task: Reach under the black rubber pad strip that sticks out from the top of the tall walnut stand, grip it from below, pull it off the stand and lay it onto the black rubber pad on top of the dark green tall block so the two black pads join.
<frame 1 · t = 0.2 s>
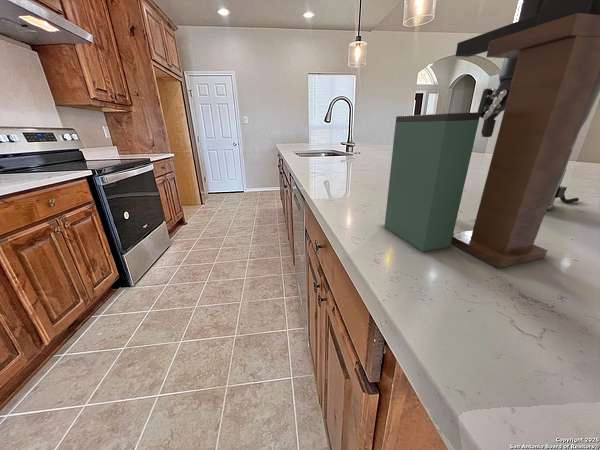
hand: (504, 137, 54), 17 cm above the counter, tool pointing down, fingers open, 8 cm apart
shelf stand: (486, 246, 44), on the counter
pad strip: (514, 41, 36), point 32 cm above the counter, touching shelf stand
dark green tall block: (414, 235, 49), on the counter
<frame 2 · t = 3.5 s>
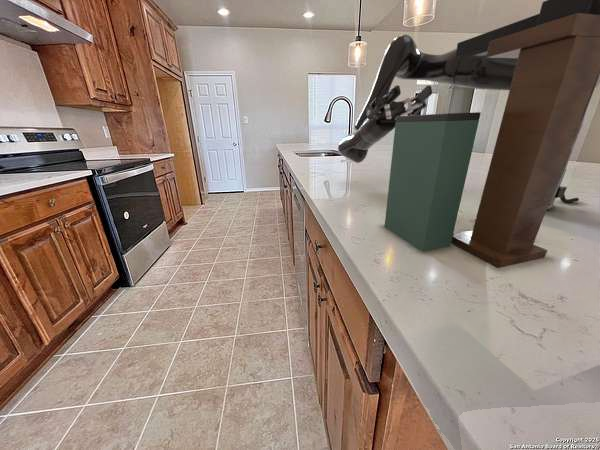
hand: (414, 89, 56), 28 cm above the counter, tool pointing upward, fingers open, 8 cm apart
nothing on the counter moved.
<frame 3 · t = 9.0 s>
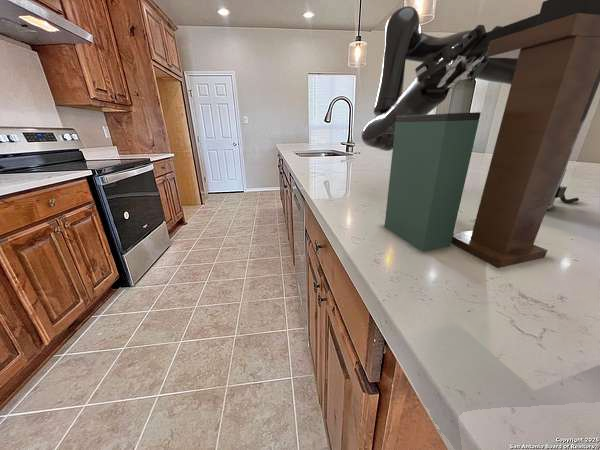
hand: (492, 30, 39), 34 cm above the counter, tool pointing upward, fingers closed on pad strip, 3 cm apart
pad strip: (514, 41, 36), point 32 cm above the counter, touching gripper, shelf stand
everything else where it was.
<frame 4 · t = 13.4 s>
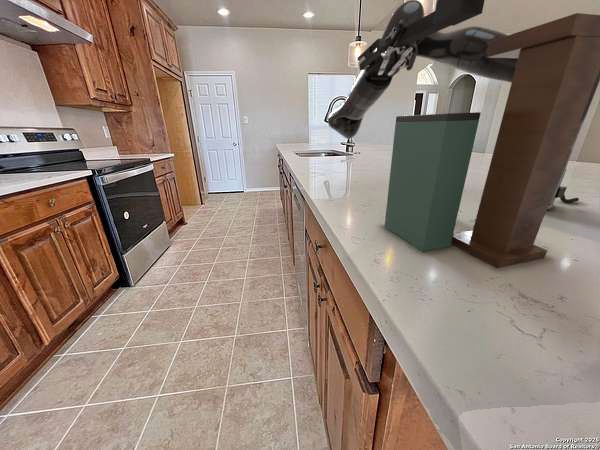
hand: (412, 24, 45), 38 cm above the counter, tool pointing upward, fingers closed on pad strip, 3 cm apart
pad strip: (425, 33, 43), point 36 cm above the counter, touching gripper
everything else where it was.
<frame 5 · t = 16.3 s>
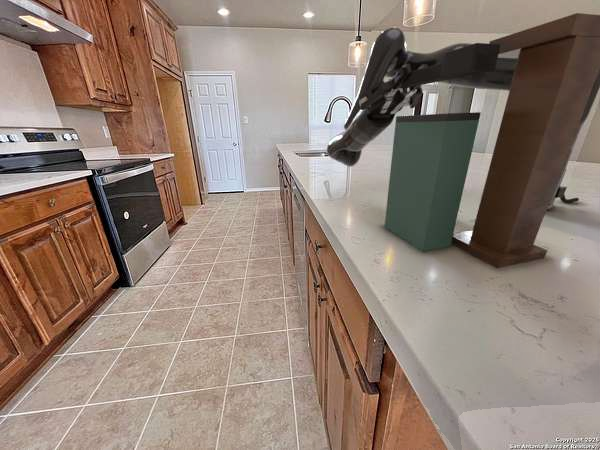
hand: (417, 69, 43), 30 cm above the counter, tool pointing upward, fingers closed on pad strip, 3 cm apart
pad strip: (431, 81, 40), point 28 cm above the counter, touching gripper
everything else where it was.
when the fingers open (25 cm above the counter, at t = 18.3 s): pad strip stays where it is, resting on dark green tall block.
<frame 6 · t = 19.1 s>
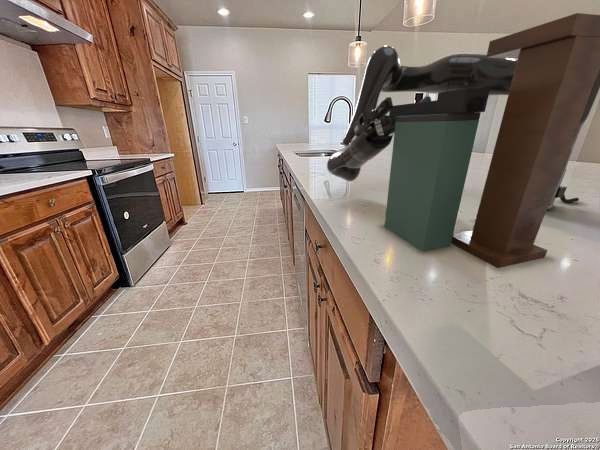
hand: (410, 101, 45), 25 cm above the counter, tool pointing upward, fingers open, 8 cm apart
pad strip: (426, 114, 42), point 22 cm above the counter, touching dark green tall block
everything else where it was.
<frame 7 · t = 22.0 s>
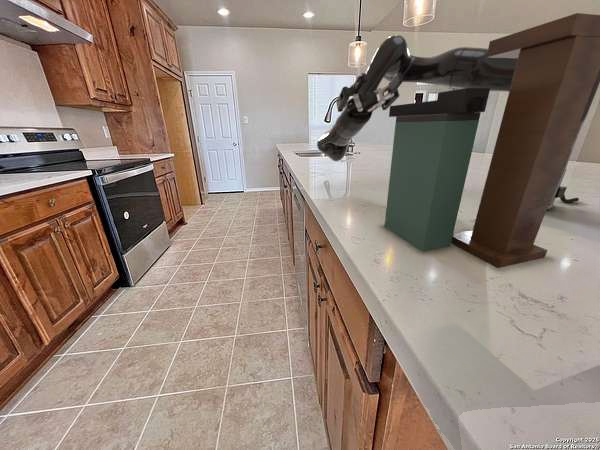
hand: (383, 76, 52), 31 cm above the counter, tool pointing upward, fingers open, 8 cm apart
nothing on the counter moved.
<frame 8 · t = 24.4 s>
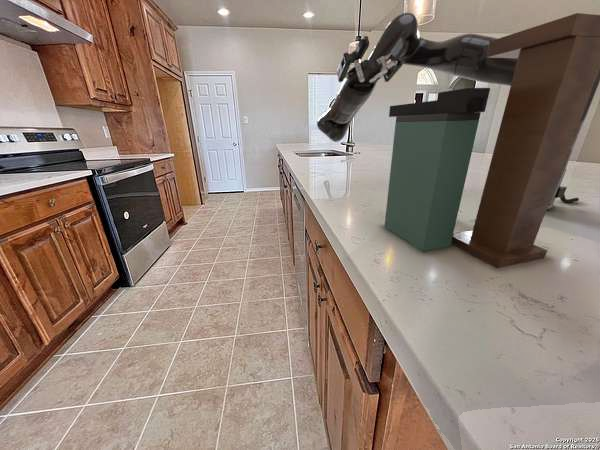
hand: (385, 40, 50), 37 cm above the counter, tool pointing upward, fingers open, 8 cm apart
nothing on the counter moved.
at the end: pad strip touching dark green tall block; pad strip inside the target area on the dark green tall block (0.5 cm from its centre), point 22.5 cm above the dark green tall block's base; the gripper is holding nothing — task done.
